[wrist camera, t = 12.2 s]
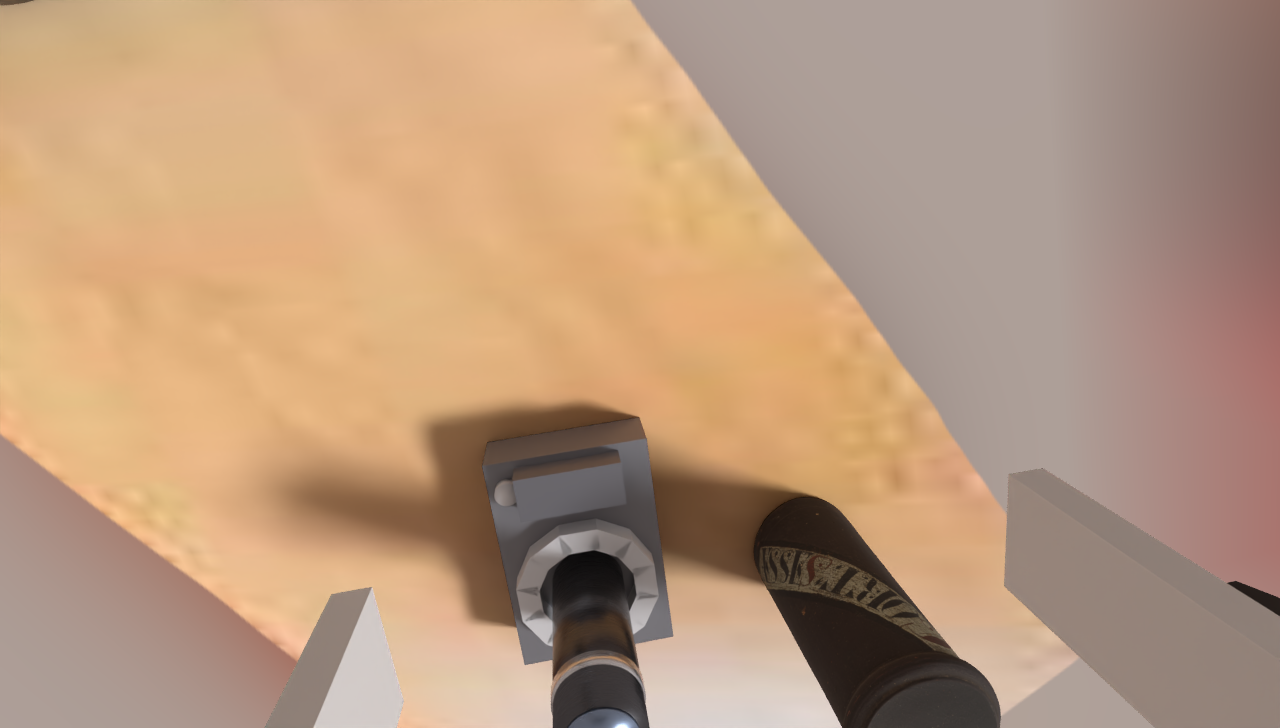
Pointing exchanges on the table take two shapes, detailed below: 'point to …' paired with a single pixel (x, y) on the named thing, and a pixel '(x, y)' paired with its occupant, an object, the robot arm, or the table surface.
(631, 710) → the lens
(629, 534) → the camera body
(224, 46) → the table surface
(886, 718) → the container
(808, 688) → the table surface
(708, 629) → the table surface
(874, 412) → the table surface
